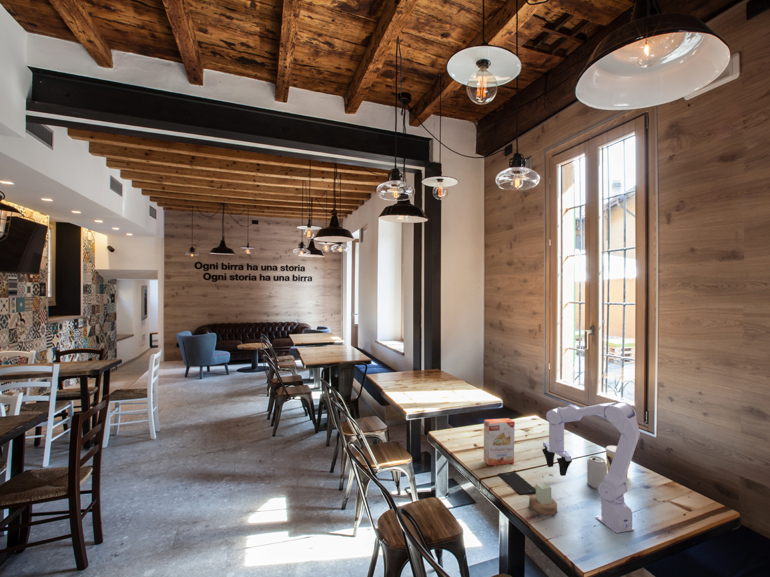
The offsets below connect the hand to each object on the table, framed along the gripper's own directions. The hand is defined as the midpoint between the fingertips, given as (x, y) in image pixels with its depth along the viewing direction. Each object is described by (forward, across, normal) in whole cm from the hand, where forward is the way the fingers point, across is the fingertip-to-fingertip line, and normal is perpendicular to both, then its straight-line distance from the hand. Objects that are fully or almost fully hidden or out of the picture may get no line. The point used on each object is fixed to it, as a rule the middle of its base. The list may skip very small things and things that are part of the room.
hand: (556, 470), depth 153 cm
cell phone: (+11, -13, -10) cm, 20 cm away
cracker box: (+11, -33, -7) cm, 35 cm away
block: (+8, +6, -11) cm, 15 cm away
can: (+11, -3, +23) cm, 26 cm away
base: (+10, +6, -11) cm, 16 cm away
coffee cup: (+11, -9, +40) cm, 42 cm away
